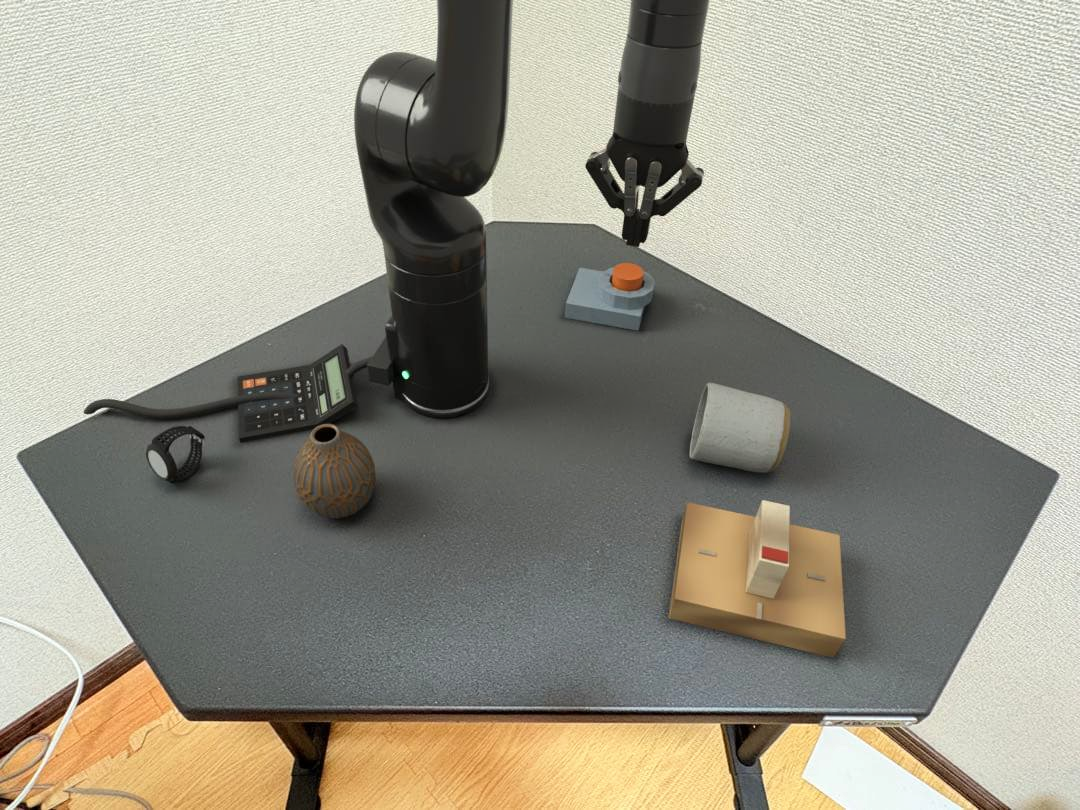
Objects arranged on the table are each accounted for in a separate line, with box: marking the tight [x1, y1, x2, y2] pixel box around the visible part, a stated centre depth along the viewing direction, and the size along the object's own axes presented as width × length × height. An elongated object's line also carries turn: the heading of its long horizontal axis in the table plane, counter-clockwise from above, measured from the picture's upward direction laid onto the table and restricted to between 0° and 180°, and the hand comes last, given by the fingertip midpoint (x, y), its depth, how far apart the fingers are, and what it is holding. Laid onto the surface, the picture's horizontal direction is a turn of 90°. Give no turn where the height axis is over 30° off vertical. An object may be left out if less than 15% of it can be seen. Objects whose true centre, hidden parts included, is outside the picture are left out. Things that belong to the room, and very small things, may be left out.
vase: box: [292, 423, 377, 519], centre depth 63 cm, size 7×7×9 cm
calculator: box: [237, 343, 359, 443], centre depth 75 cm, size 9×12×3 cm
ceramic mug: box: [689, 382, 791, 474], centre depth 71 cm, size 11×8×8 cm
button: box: [612, 262, 644, 292], centre depth 86 cm, size 4×4×2 cm
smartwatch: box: [145, 425, 206, 484], centre depth 66 cm, size 4×5×5 cm
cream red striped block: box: [746, 499, 791, 599], centre depth 58 cm, size 6×2×5 cm, turn 165°
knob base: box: [668, 501, 847, 659], centre depth 60 cm, size 13×10×3 cm
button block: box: [564, 266, 656, 332], centre depth 88 cm, size 10×8×4 cm
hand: (633, 242), depth 83 cm, fingers closed
